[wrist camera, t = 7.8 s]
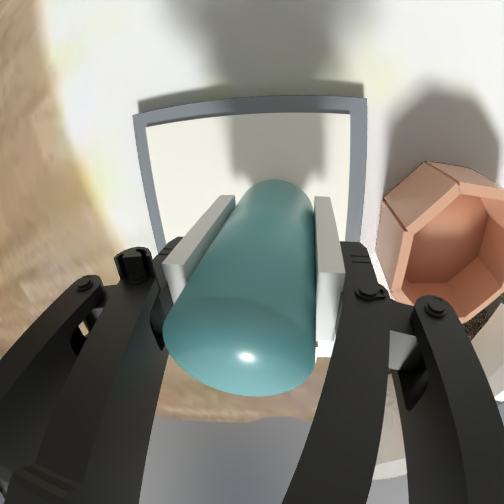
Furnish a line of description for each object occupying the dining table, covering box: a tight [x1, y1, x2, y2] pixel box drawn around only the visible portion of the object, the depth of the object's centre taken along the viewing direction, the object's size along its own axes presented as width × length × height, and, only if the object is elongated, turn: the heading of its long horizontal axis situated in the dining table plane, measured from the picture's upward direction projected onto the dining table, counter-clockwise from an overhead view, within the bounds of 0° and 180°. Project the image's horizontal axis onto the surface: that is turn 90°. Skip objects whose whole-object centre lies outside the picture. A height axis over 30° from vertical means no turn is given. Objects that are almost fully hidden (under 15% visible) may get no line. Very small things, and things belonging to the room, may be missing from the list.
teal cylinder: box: [163, 179, 316, 396], centre depth 11 cm, size 4×4×11 cm
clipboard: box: [133, 95, 367, 362], centre depth 19 cm, size 20×14×2 cm
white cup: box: [372, 373, 407, 480], centre depth 21 cm, size 8×8×10 cm
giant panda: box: [471, 296, 504, 407], centre depth 16 cm, size 15×6×10 cm, turn 166°
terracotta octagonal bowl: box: [375, 161, 504, 324], centre depth 14 cm, size 9×9×4 cm
